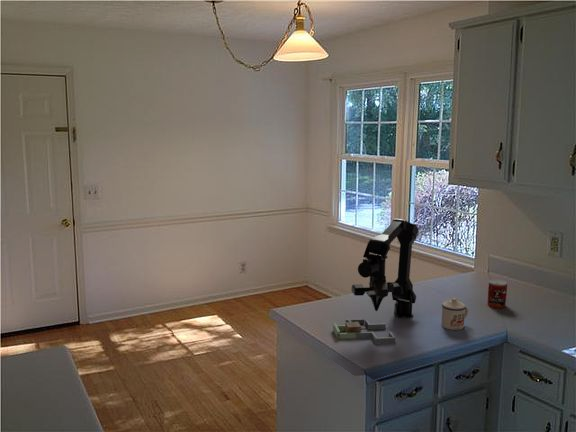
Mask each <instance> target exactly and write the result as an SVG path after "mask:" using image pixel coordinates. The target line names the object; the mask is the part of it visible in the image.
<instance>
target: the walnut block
mask: <svg viewBox="0 0 576 432" xmlns="http://www.w3.org/2000/svg"><path fill="white" fill-rule="evenodd" d="M344 325H345V332H344V333H353V332H362V329H361V326H360V324H359V323H358V322H346V321H345V324H344Z"/></svg>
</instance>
